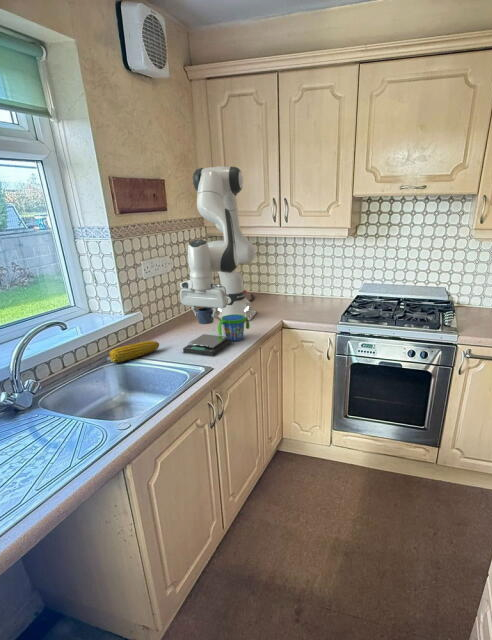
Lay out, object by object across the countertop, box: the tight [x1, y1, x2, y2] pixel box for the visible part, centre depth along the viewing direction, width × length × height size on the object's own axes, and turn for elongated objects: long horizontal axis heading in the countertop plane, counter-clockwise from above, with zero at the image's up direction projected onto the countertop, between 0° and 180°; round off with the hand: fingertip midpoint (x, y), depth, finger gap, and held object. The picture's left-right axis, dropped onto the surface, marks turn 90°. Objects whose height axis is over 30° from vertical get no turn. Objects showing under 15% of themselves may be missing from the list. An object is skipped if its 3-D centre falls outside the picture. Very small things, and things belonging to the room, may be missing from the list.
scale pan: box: [187, 333, 228, 348], centre depth 174 cm, size 13×12×1 cm
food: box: [108, 340, 160, 364], centre depth 165 cm, size 21×6×6 cm, turn 141°
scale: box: [182, 339, 232, 357], centre depth 174 cm, size 16×14×3 cm
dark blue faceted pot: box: [196, 307, 215, 325], centre depth 169 cm, size 6×6×5 cm
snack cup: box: [217, 314, 251, 342], centre depth 182 cm, size 16×10×10 cm
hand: (205, 317), depth 169 cm, fingers closed on dark blue faceted pot, 6 cm apart
